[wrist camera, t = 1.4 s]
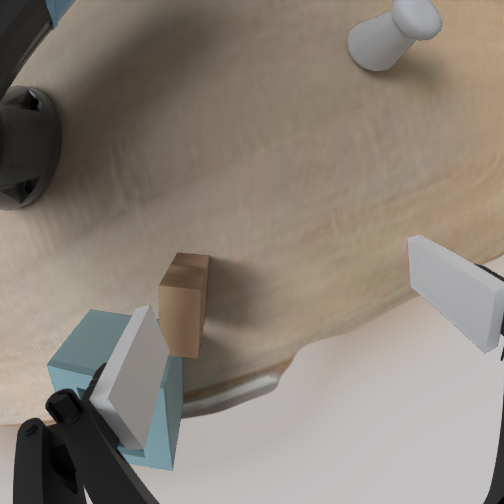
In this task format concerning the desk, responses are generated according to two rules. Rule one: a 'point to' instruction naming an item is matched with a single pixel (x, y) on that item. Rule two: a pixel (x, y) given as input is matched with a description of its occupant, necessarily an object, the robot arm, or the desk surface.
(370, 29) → the salt shaker
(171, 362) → the coin box
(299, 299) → the desk surface
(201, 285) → the block
